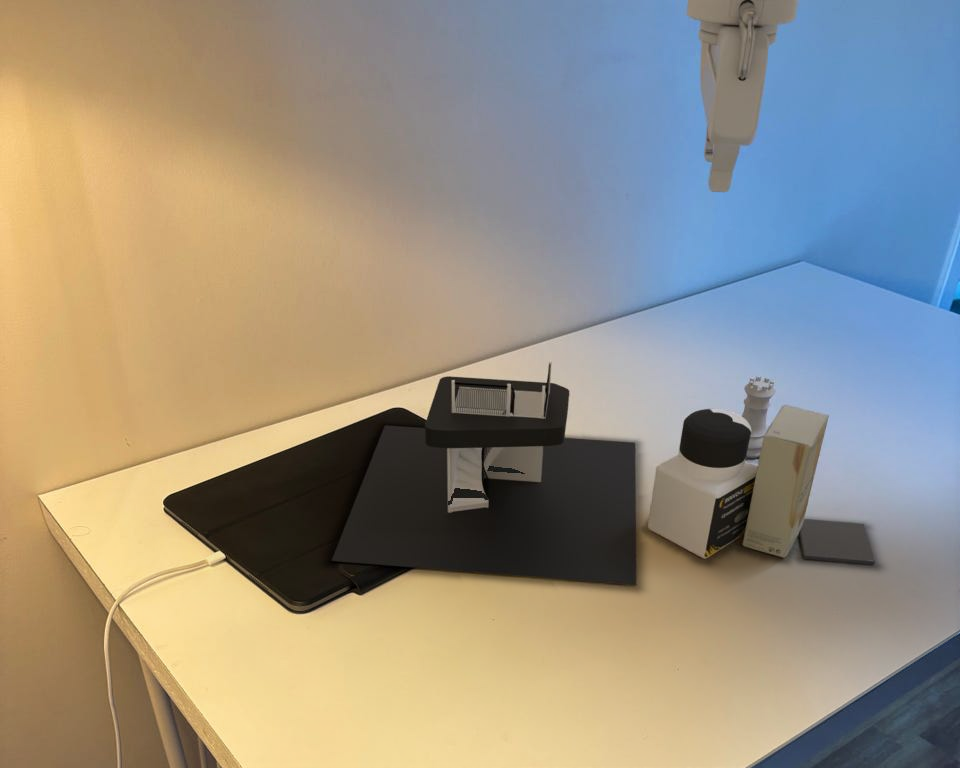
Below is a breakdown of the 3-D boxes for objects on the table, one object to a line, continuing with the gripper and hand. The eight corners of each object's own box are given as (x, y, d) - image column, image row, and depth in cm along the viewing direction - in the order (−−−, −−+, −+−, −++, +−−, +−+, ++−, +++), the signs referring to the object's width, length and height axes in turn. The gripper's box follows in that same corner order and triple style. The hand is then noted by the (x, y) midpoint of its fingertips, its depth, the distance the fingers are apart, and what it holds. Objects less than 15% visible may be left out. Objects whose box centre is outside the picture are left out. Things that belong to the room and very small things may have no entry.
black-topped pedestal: (331, 562, 91) (318, 432, 82) (384, 426, 111) (378, 310, 102) (636, 586, 89) (655, 455, 80) (635, 443, 109) (650, 326, 100)
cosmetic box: (785, 560, 92) (811, 448, 84) (740, 547, 94) (761, 436, 85) (804, 523, 96) (831, 412, 88) (761, 511, 98) (783, 401, 89)
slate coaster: (862, 527, 97) (864, 523, 96) (874, 565, 92) (875, 561, 92) (796, 521, 97) (797, 518, 97) (803, 559, 92) (804, 555, 92)
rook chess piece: (745, 435, 110) (759, 368, 105) (776, 451, 108) (792, 383, 103) (717, 446, 108) (731, 379, 103) (748, 463, 106) (763, 395, 101)
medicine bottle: (704, 561, 92) (727, 446, 84) (645, 529, 96) (662, 417, 88) (749, 532, 96) (775, 420, 88) (691, 502, 100) (710, 393, 92)
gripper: (797, 14, 72) (760, 212, 81) (771, -22, 88) (743, 147, 96) (710, 11, 73) (683, 208, 82) (700, -25, 88) (678, 144, 97)
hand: (715, 174), depth 89 cm, fingers open, 8 cm apart
